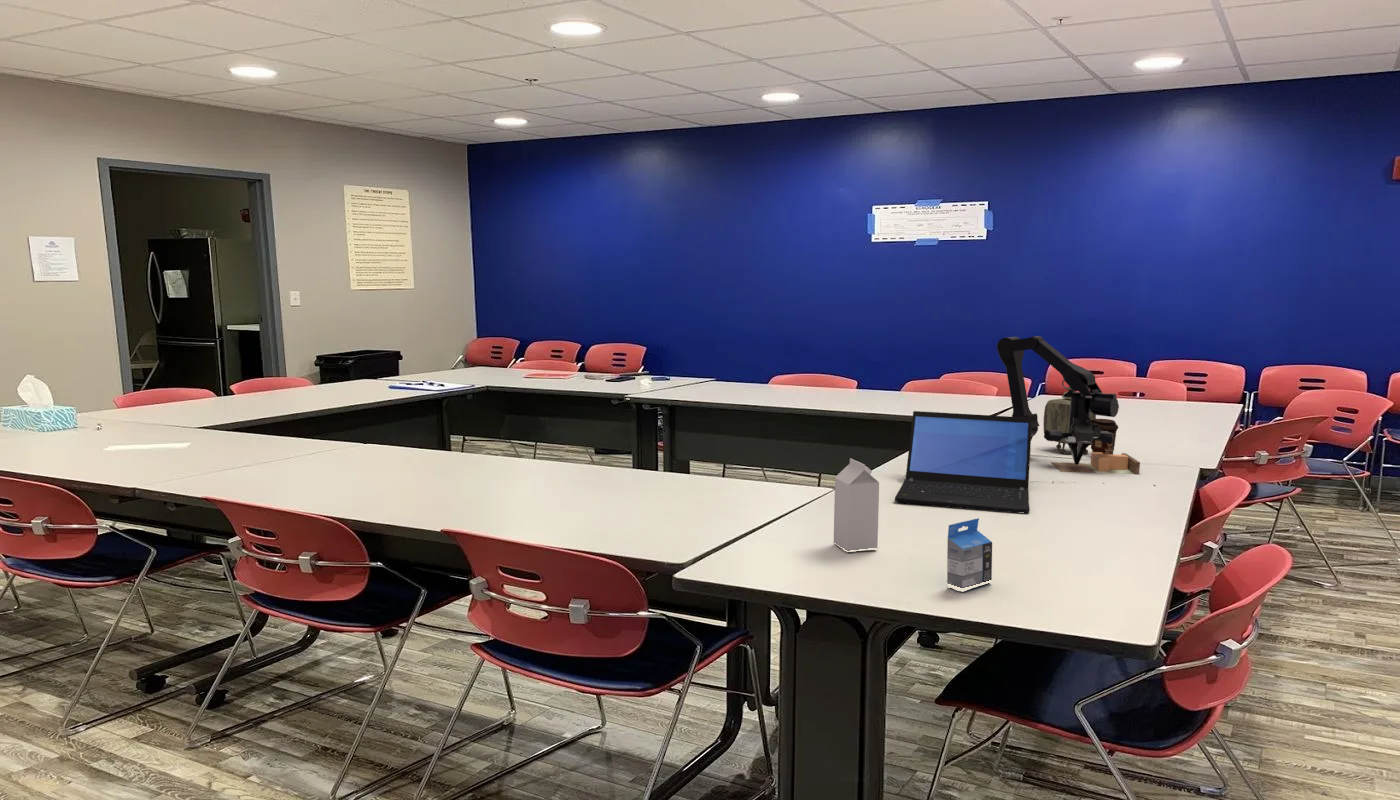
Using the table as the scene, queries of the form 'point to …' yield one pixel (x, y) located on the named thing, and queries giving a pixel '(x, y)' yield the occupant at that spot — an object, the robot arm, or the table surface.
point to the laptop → (968, 461)
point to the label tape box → (968, 555)
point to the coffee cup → (1105, 426)
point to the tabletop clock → (1060, 416)
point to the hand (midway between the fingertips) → (1076, 464)
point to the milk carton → (856, 508)
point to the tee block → (1108, 461)
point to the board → (1087, 468)
